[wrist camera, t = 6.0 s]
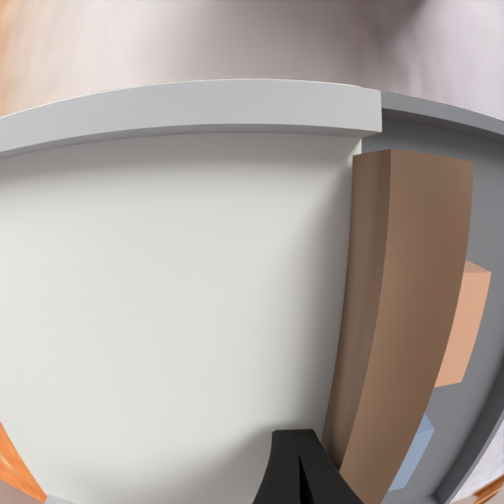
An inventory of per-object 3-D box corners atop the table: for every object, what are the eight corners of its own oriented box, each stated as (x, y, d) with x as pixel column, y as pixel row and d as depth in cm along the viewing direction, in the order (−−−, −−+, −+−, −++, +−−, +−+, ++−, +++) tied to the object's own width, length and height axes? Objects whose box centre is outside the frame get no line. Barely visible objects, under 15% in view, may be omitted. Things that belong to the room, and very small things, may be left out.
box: (296, 517, 15) (297, 539, 13) (342, 101, 9) (358, 87, 8) (436, 492, 14) (444, 509, 13) (538, 145, 9) (565, 145, 8)
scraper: (296, 534, 12) (299, 569, 9) (352, 155, 8) (391, 148, 5) (333, 530, 12) (338, 565, 9) (419, 162, 8) (473, 162, 5)
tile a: (348, 374, 11) (358, 397, 10) (365, 260, 10) (380, 274, 9) (445, 363, 11) (461, 381, 10) (468, 260, 10) (491, 272, 9)
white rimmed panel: (62, 484, 15) (44, 517, 11) (-31, 141, 10) (-84, 141, 6) (296, 517, 15) (299, 561, 11) (341, 100, 9) (379, 70, 6)
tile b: (315, 479, 13) (319, 501, 11) (329, 421, 12) (336, 445, 10) (396, 468, 13) (404, 487, 11) (422, 409, 12) (434, 429, 10)
